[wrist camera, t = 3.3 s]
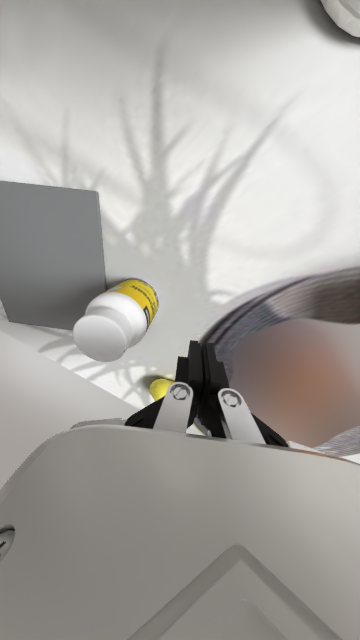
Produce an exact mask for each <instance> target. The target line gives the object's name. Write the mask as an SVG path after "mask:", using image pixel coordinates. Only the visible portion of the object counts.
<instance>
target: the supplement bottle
mask: <svg viewBox="0 0 360 640" xmlns="http://www.w3.org/2000/svg"><path fill="white" fill-rule="evenodd" d="M158 307H159V297H158V294H157V291H156V290H155V288H154V287H153V286H152V285H151V284H150V283H148V282H147V281H145V280H142V279H137V278H133V279H128V280H126V281H124V282H122V283H120V284H118V285H116V286H115V287H113V288H111V289H109V290H107V291H106V292H104V293H102V294H100V295H99V296H97V297H96V298H94V299H93V300H92V301H91V302H90V303H89V305H88V306H87V309H86V312H85V315H84V316H83V317H82V318H80V319H79V320H78V321H77V322H76V324H75V326H74V328H73V338H74V341H75V343H76V345H77V347H78V348H79V349H80V350H81V351H82V352H83V353H84V354H85V355H86V356H88V357H90V358H92V359H94V360H97V361H101V362H110V361H114V360H117V359H119V358H120V357H121V356H122V355H123V354H124V353H125V351H126V349H128V348H130V347H133V346H134V345H136V344H137V343H139V342H140V341H141V339H142V338H143V336H144V335H145V333H146V331H147V329H148V327H149V325H150V324H151V322H152V320H153V318H154V316H155V314H156V312H157V310H158Z"/></svg>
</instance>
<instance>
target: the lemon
mask: <svg viewBox="0 0 360 640" xmlns="http://www.w3.org/2000/svg"><path fill="white" fill-rule="evenodd" d="M173 383H175V382H173V381H169V380H166V379H157V380H155V381H153V382H152V384H151V385H150V393H151V395H152V397H153V398H154V400H155V401H157V400H158V399H160V398H162V397H163V396H165V395H166V392H167V389H168V387H169V386H170V385H171V384H173Z"/></svg>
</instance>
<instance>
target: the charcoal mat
mask: <svg viewBox="0 0 360 640" xmlns="http://www.w3.org/2000/svg"><path fill="white" fill-rule="evenodd" d="M106 291H107V288H106V276H105V265H104V253H103V241H102V229H101V218H100V206H99V194H98V192H96V191H89V190H80V189H71V188H62V187H53V186H44V185H35V184H26V183H16V182H7V181H0V298H1V301H2V303H3V306H4V309H5V312H6V314H7V317H8V320H9V322H14V323H21V324H29V325H37V326H44V327H52V328H60V329H67V330H73V328H74V326H75V324H76V322H77V321H78V320H79V319H80V318H82V317H83V316H84V315H85V312H86V309H87V306H88V305H89V303H90V302H91V301H92V300H93V299H94V298H96V297H97V296H99V295H100V294H102V293H104V292H106Z"/></svg>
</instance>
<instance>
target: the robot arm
mask: <svg viewBox="0 0 360 640" xmlns="http://www.w3.org/2000/svg"><path fill="white" fill-rule="evenodd" d="M321 2H322V4H323V6H324V9H325V11H326V12H327V13H328V15H329V16H330V17H331V18H332V20H333V21H334V22H335V23H336V24H337V26H338V27H340V28H341V29H343V30H345V31H346V32H348V33H349V34H351V35H352V36H356V37H360V0H321ZM197 411H198V418H200V419H201V425H205V426H206V428H207V429H208V436H202V435H195V434H187V433H186V430H187V428H188V427H190V426H191V425H192V424H193V422H194V418H196V413H197ZM14 531H15V532H14ZM4 541H6V542H4ZM0 640H360V464H358V463H355V462H352V461H350V460H347V459H344V458H340V457H337V456H333V455H329V454H326V453H323V452H320V451H317V450H315V449H312V448H309V447H306V446H303V445H300V444H297V443H294V442H291V441H288V442H286V441H285V440H284V439H283V438H282V437H281V436H280V435H279V434H277V433H276V432H275V431H273V430H272V429H271V428H270V427H268V426H267V425H266V424H265V423H263V422H262V421H261V420H259V419H258V418H257V417H256V416H254V415H253V414H252V413H251V412H250V411H249V409H248V407H247V405H246V403H245V401H244V399H243V397H242V396H241V395H240V394H239V393H238V392H237V391H235V390H233V389H230V388H229V384H228V380H227V376H226V372H225V368H224V364H223V362H218V361H217V360H216V355H215V350H214V345H213V343H208V342H205V344H202V347H201V346H200V343H198V341H192V340H190V345H189V351H188V358H187V357H179V356H178V362H177V370H176V378H175V383H173V384H171V385H170V386H169V387H168V389H167V392H166V395H165V396H163V397H162V398H160V399H158V400H157V401H155V402H153V403H152V404H150V405H148V406H147V407H145V408H143V409H142V410H140V411H138V412H137V413H135V414H133V415H132V416H131V417H129V418H128V419H127V420H122V418H114V419H103V420H92V421H84V422H79V423H77V424H75V425H73V426H72V427H71V428H70V429H69V430H66V431H63V432H61V433H59V434H56V435H54V436H52V437H51V438H49V439H47V440H46V441H45V442H44V443H42V444H41V445H40V446H39V447H38V448H37V449H36V450H34V452H32V453H31V455H29V457H28V458H27V459H26V460H25V461H24V462H23V463H22V464H21V466H20V467H19V468H18V469H17V470H16V471H15V472H14V474H13V475H12V476H11V477H10V478H9V480H8V481H7V482H6V483H5V485H4V486H3V487H2V488H1V489H0Z"/></svg>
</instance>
